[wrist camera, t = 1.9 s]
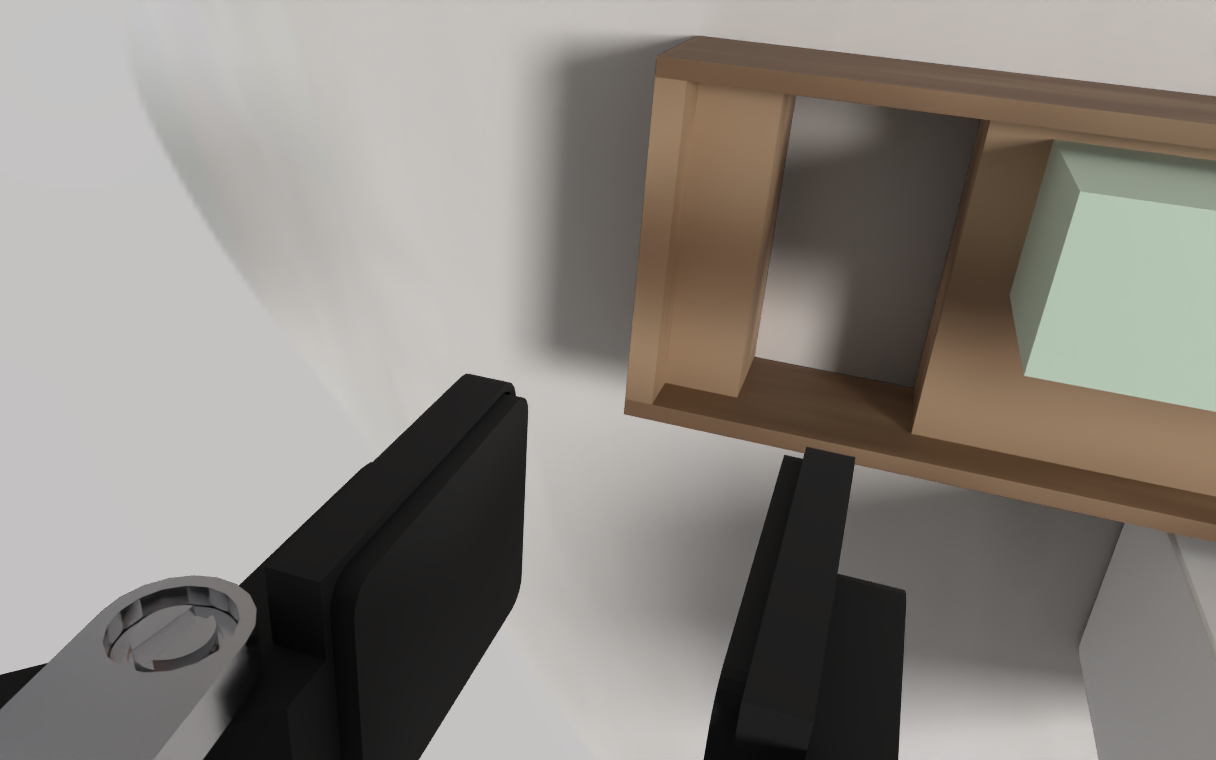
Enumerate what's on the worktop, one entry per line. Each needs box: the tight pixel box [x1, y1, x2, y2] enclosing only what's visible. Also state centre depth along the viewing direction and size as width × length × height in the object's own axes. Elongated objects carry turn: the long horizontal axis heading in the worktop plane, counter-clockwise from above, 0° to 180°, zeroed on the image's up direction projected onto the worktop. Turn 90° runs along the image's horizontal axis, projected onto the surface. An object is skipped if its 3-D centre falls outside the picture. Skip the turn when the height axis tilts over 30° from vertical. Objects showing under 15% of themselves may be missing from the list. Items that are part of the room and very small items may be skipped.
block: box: [1010, 139, 1216, 412], centre depth 21 cm, size 4×4×5 cm
